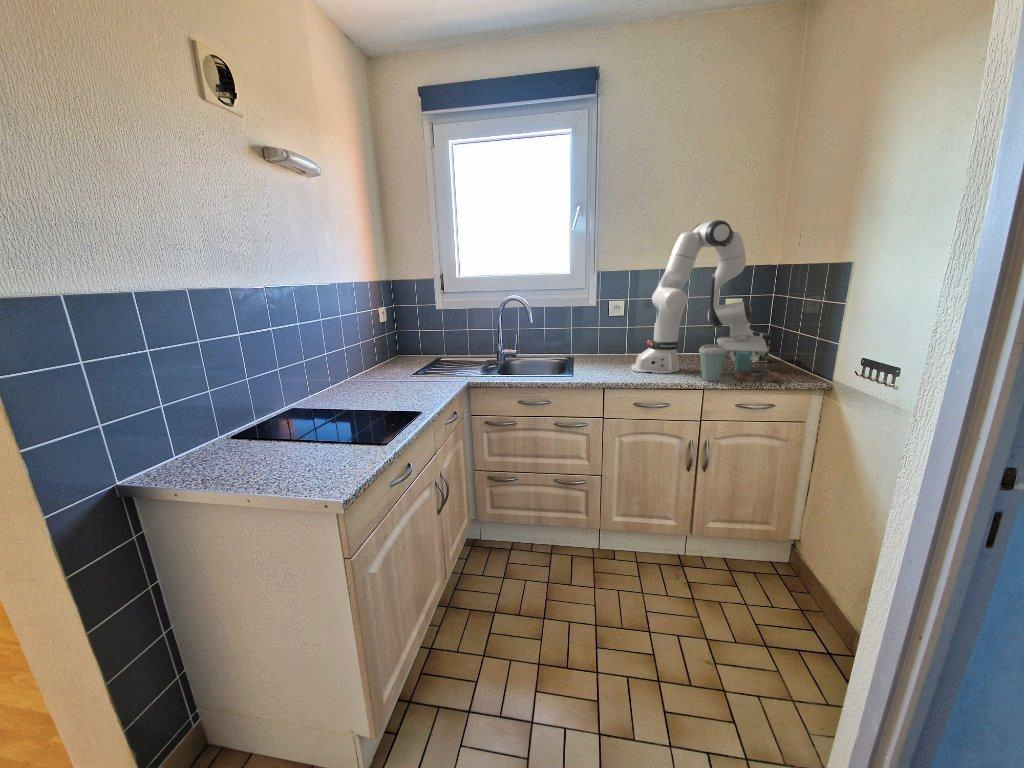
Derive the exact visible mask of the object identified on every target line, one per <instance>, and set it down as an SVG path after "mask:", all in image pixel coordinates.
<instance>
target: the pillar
mask: <svg viewBox="0 0 1024 768" xmlns="http://www.w3.org/2000/svg"><path fill="white" fill-rule="evenodd" d="M750 356H751V353H749V352H736V355H735V357H737V361H736V362H734V369H733V371H745V369H750V364H751V362H750Z"/></svg>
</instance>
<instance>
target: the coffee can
mask: <svg viewBox="0 0 1024 768" xmlns="http://www.w3.org/2000/svg"><path fill="white" fill-rule="evenodd" d="M758 332H759V331H758ZM759 333H762V334H763V337H762V338H763V339H764V340H765V342H766V346H767V352H766V353H765V354H764V355H754V357H753V358H752V359H753V361H752V362H751V363H755V362H765V363H768V361H769V352H770V346H771V339H772V333H769V332H761V331H760V332H759ZM750 357H751V356H750Z"/></svg>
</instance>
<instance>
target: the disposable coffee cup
mask: <svg viewBox="0 0 1024 768" xmlns="http://www.w3.org/2000/svg"><path fill="white" fill-rule="evenodd" d="M698 352H699V358H700V359H699V361H700V371H701V379H702V381H704V380H706V381H705V382H709V381H715V382H718V381H719V380H720V379H721V374H722V369H723V365H724V361H725V358H726V355H727V354H726V349H725V347H724V346H722V345H719V344H713V343H711V344H704V345H701V346H700V347H699V349H698Z"/></svg>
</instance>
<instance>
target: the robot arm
mask: <svg viewBox="0 0 1024 768" xmlns="http://www.w3.org/2000/svg"><path fill="white" fill-rule="evenodd" d="M702 248H714V249H715V250H716V253H717V263H718V264H717V268H716V269H715V271H713V272H712V275H711V280H710V292H709V308H708V312H707V320H708V324H710V325H711V326H713V327H715V328H718V327H723V326H724V325H725V326H727V325H728V326H729V329H730V330H729V336H719V337H718V338H717V339H716V343H717V345H722V346H724V347H725V349H726V354H725V355H729V357H730V358H731V360H732V363H733V362H734V363H735V362H736V361H737V357H736V352H749V353H751V357H750V363H753V362H752V361H753V359H752V358H753V357H754V355H764V354H765V353H766V352H767V346H766V342H765V340H764V339H763V338H762V337H763V334H762V333H763V332H762V333H759V331H756V330H755V331H754V330H752V329H751V327H750V326H751V322H752V320H753V319H754V317H753V313H752V312H753V309H752V306H751V304H750V303H748V302H746V301H737V302H733V303H727V304H719V303H720V302H719V301H720V289H721V287H722V286H723V285H724V284H725V283H726V282H728V281H730V280H731V279H733V278H735V277H737V276H738V275H739V274H741V273H742V272H743V271H744V269H745V268H746V262H747V261H746V257H747V256H746V251H745V245H744V241H743V237H742V235H741V234H740V233H739V232H737V231H734V230H732V227H731V225H730V224H729V223H728V222H727V221H724V220H721V219H720V220H719V219H718V220H708V221H705V222H702V223H701V222H700V223H699V224H697V225H696V226H694V228H693V229H692V230H691V231H685V232H682V233H681V234H680V235H679V236H678V238H677V239H676V241H675V244H674V245H673V248H672V251H671V254H670V257H669V259H668V261H667V265H666V268H665V271H664V273H663V275H662V277H661V279H660V281H659V283H658V285H657V287H656V289H655V291H654V292H653V293H652V296H651V302H652V304H653V307H655V308H656V309H658V314H657V317H656V320H655V322H654V327H653V329H654V330H653V339H652V340H650V339H648V340H647V341H646V344H647V345H648V348H647V349H645V350H644V351H642V352H641V353H639V354H638V355H637V357H636V360H635V363H634V364H631V365H630V369H631V370H632V371H633V372H635V371H636V373H644V372H652V373H651V374H666V373H670V374H672V373H676V372H678V371H680V370H681V369H680V367H679V366H680V365H679V356H678V354H679V348H680V341H679V332H680V325H681V321H682V316H683V313H684V310H685V308H686V306H687V304H688V296H687V294H686V293H685V292H684V291H683V290H682V289H683V287H684V286H685V284H686V282H687V281H688V280H689V279H690V277H691V274H692V271H693V269H694V266H695V263H696V260H697V257H698V255H699V252H700V251H701V249H702Z"/></svg>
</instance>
